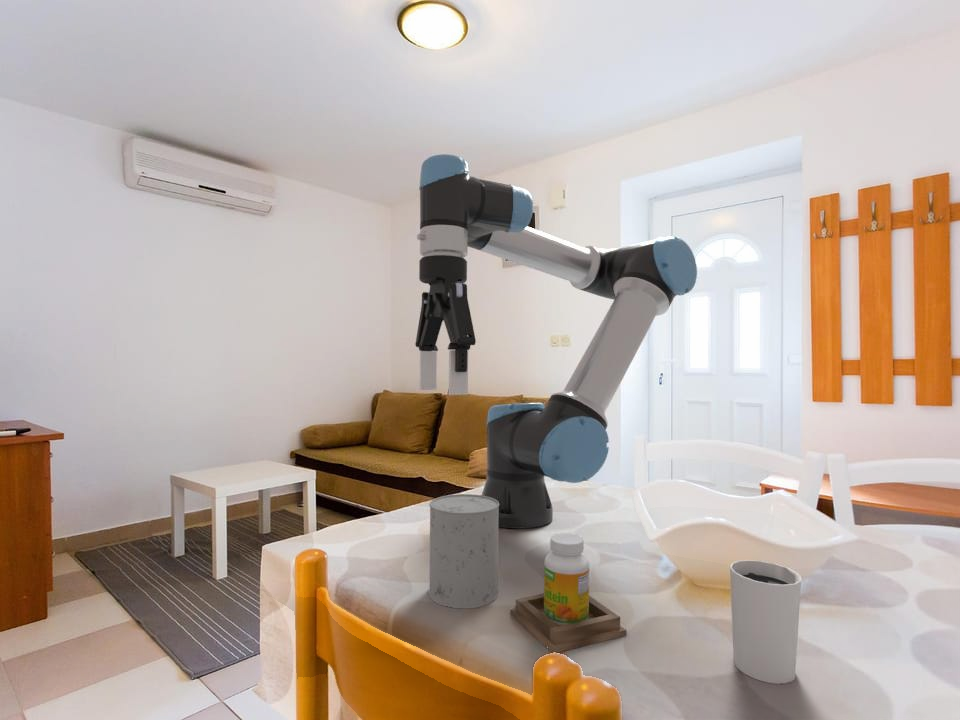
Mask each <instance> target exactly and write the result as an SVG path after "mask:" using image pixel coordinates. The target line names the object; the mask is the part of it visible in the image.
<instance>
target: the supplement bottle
mask: <svg viewBox="0 0 960 720" xmlns="http://www.w3.org/2000/svg"><path fill="white" fill-rule="evenodd" d="M584 543H585V542H584V538H583V537H582V536H580V535H578V534H574V533H568V532H567V533H566V532H565V533H564V532H559V533H554V534H552V535H551V536H550V542H549V545H550V551H551V552H549V553H548V554H547V555H545V557H544V558H545V559H544V563H543V565H544V568H543V569H544V570H543V574H544V577H543V579H544V580H543V582H544V583H543V584H544V585H543V593H544V615H545V616H546V617H547V618H548V619H549V620H551V621H552V622H553V623H554V624H555V625H556V626H562V625H566V624H570V623H575V622H579V621H583V620H588V614H589V596H590V595H589V594H590V561H589V559H588V558H587V556H585V555H584V554H583V552H584V550H585V549H584V548H585V547H584Z"/></svg>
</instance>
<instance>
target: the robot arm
mask: <svg viewBox="0 0 960 720" xmlns="http://www.w3.org/2000/svg"><path fill="white" fill-rule="evenodd" d="M418 190H419V207H420V208H419V209H420V210H419V214H420V215H419V219H420V220H419V223H420V224H419V233H417V235H416V239H417V240H418V241H419V255H421V258H420V259H419V261H418V262H419V269H418V270H419V271H418V273H419V275H418V276H419V277H418V279H419V281H420V283H423V284H427V285H428V286H429V291H428V292H427V291H423V292H422V293H421V308H420V312H419V313H420V315H419V319H418V324H417V325H418V326H417V333H416V339H415V343H414V344H415V347H416V348H418V351H419V390H420V391H421V390H424V391H425V390H426V391H427V390H429V391H431V390H437V360H438V359H437V357H438V355H437V352H438V351H439V349H438V346H437V341H438V338H439V334H440V330H441V327H442V325H443V323H444V326H445V328H446V332H447V335H448V339H449V344H448V346H447V350H448V395H449V396H464V395H465V396H466V395H469V394H468V391H469V390H468V389H469V350H470V349H471V346H475V345H476V343H477V342H476V340H477V339H476V335H475V331H474V325H473V319H472V315H471V309H470V304H469V298H468V285H467V284H466V282H467V279H468V261H467V259H465V258H466V257H467V256H468V248H471V249H475V250H477V251H481V252H483V253H486V254H489V255H493V256H494V257H495V256H496V257H498V258H500V259H503V260H506V261H509V262H512V263H516V264H519V265H520V266H521V265H522V266H524V267H526V268H527V267H528V268H530V269H532V270H533V269H534V270H536V271H539V272H542V273H544V274H548V275H551V276H552V277H553V276H554V277H556V278H559V279H563V280H565V281H568V282H569V283H570V284H571V286H572V287H574V288H575V289H578V290H581V291H584V292H587V293H589V294H591V295H595V296H598V297H602V298H606V299H609V300H613V302H612V304H611V305H610V307H609V309H608V310H607V313H606V314H605V316H604V317H603V320H602V322H601V323H600V325H599V327H598V328H597V330H596V332H595V334H594V336H593V337H592V339H591V341H590V343H589V344H588V346H587V348H586V349H585V351H584V353H583V354H582V357H581V358H580V360H579V362H578V364H577V366H576V367H575V369H574V371H573V373H572V374H571V377H570V378H569V380H568V382H566V385H565V387H564V389H563V391H559V392H555V393H553V394H551V395H550V397H549V399H548V400H547V402H546V404H544V403H542V402H525V403H524V402H523V403H511V404H498V405H492V406H491V407H490V408H489V409H488V410H487V411H488V412H487V417H486V418H487V419H486V425H485V426H486V480H485V483H484V487H483V490H482V493H481V495H482V496H487V497H491V498H493V499H496V500H497V501H498V502H499V514H498V528H499V527H500V528H504V529H505V528H506V529H507V528H508V529H529V528H537V527H542V526H545V525H548V524H550V523H551V522H552V521H553V516H554V514H553V511H554V509H553V505H552V501H551V498H550V494H549V491H548V488H547V484H546V482H545V477H547V478H550V479H551V480H553V481H557V482H566V483H571V484H577V483H578V484H579V483H583V482H585V481H588V480H589V479H591V478H592V477H595V475H596V474H597V473H599V471H600V470H601V468H603V466H604V464H605V462H606V460H607V457H608V454H609V450H610V449H609V446H607V445H608V443H609V441H610V439H609V435H608V432H607V430H606V429H607V428H608V425H609V424H608V419H607V417H606V412H607V409H608V408H609V406H610V404H611V402H612V400H613V398H614V396H615V394H616V392H617V391H618V389H619V386H620V385H621V383H622V380H623V379H624V377H625V375H626V374H627V372H628V370H629V368H630V366H631V364H632V361H633V360H634V358H635V356H636V354H637V353H638V350H639V348H640V346H641V345H642V343H643V341H644V339H645V337H646V335H647V333H648V331H649V329H650V328H651V325H652V324H653V322H654V320H655V318H656V317H657V316H661V315H662V316H663V314H665V313H667V312H668V310H669V308H670V306H671V304H672V303H673V301H674V298H675V297H677V296H684V295H686V294H689V293H690V292H691V291H692V290H694V289H693V288H694V287H695V285H696V283H697V277H698V267H697V263H696V258H695V257H696V256H695V255H694V252H693V251H692V249H691V247H690V246H689V244H688V243H687V242H686V241H684V240H683V239H682V238H680V237H678V236H666V237H663V236H660V237H656V239H652V240H648V241H644V242H640V243H635V244H631V245H627V246H621V247H617V248H609V249H608V248H607V249H606V248H597V247H595V246H593V245H586V246H582V247H581V246H579V245H576V244H574V243H571V242H569V241H567V240H563V239H561V238H558V237H556V236H553V235H551V234H548V233H545V232H543V231H540V230H537V229H535V228H532V227H530V226H529V224H530V223H531V219H532V218H533V212H534V209H533V207H534V202H533V198H532V195H531V193H530V192H529V191H528V190H527V189H525V188H522V187H518V186H514V185H513V184H506V183H502V182H497V181H490V180H486V179H479V178H477V177H475V176H471V175H470V171H469V166H468V162H467V161H466V160H465V159H464V158H462V157H460V156H457V155H453V154H435V155H432V156H430V157H428V158H426V159H425V160H424V161H423V162H422V164H421V170H420V178H419V186H418Z"/></svg>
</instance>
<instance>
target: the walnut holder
mask: <svg viewBox="0 0 960 720" xmlns="http://www.w3.org/2000/svg"><path fill="white" fill-rule="evenodd" d="M509 609H510V615H511V616H512V617H513V618H514V619H515V620H517V622H519V624H521V625H522V626H523V627H524V628H525V629H526V630H527V631H528V632H530V634H531V635H532V636H534V637H535V639H537V640H538V641H539V642H540V643H541V644H542V645H543V646H544V645H545V646H546V647H548V648H547V650H549V651H550V652H551V653H552V652H558V653H557V654H559V653H563V652H567V651H571V650H573V649H578V648H582V647H585V646H589V645H594V644H598V643H600V642H605V641H609V640H612V639H616V638H620V637H624V636H627V629H626V628H625V627H623V626H622V625H621V616H620V615H618V614H617V613H615V612H614V611H612V609H610V608H608V607H607V606H605V605H604V604H602V603H601V602H600V601H598V600H596V598H593V597H591V596H590V595H589V614H588V620H583V621H579V622H575V623H570V624H566V625H562V626H556V625H555V624H554V623H553V622H552V621H551V620H549V619H548V618H547V617H546V616H545V615H544V592H542V593H538V594H534V595H533V594H532V595H528V596H523V597H519V598H515V608H514V607H513V608H509ZM545 646H544V647H545ZM546 647H545V648H546Z"/></svg>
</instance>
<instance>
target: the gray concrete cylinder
mask: <svg viewBox="0 0 960 720" xmlns="http://www.w3.org/2000/svg"><path fill="white" fill-rule="evenodd" d="M429 509H430V510H429V588H428V596H429V599H430V600H432V601H433V602H434V603H436V604H437V603H438V604H437V605H439V604H440V605H439V606H442V605H443V607H445V606H448V607H447V608H450V607H452V608H451V609H459V608H460V609H461V610H462V609H463V610H464V609H476V608H479V607H484V606H487V605H488V604H491V603H493V602H494V601H495V600H496V599H497V598H498V597H499V596H498V595H499V580H498V579H499V527H498V514H499V502H498V501H497V500H496V499H493V498H491V497H487V496H482V494H481V495H480V494H469V493H468V494H467V493H464V494H463V493H459V494H456V493H455V494H448V495H442V496H439V497H436V498H434V499H433V498H432V499H431V500H430V501H429ZM460 609H459V610H460Z"/></svg>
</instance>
